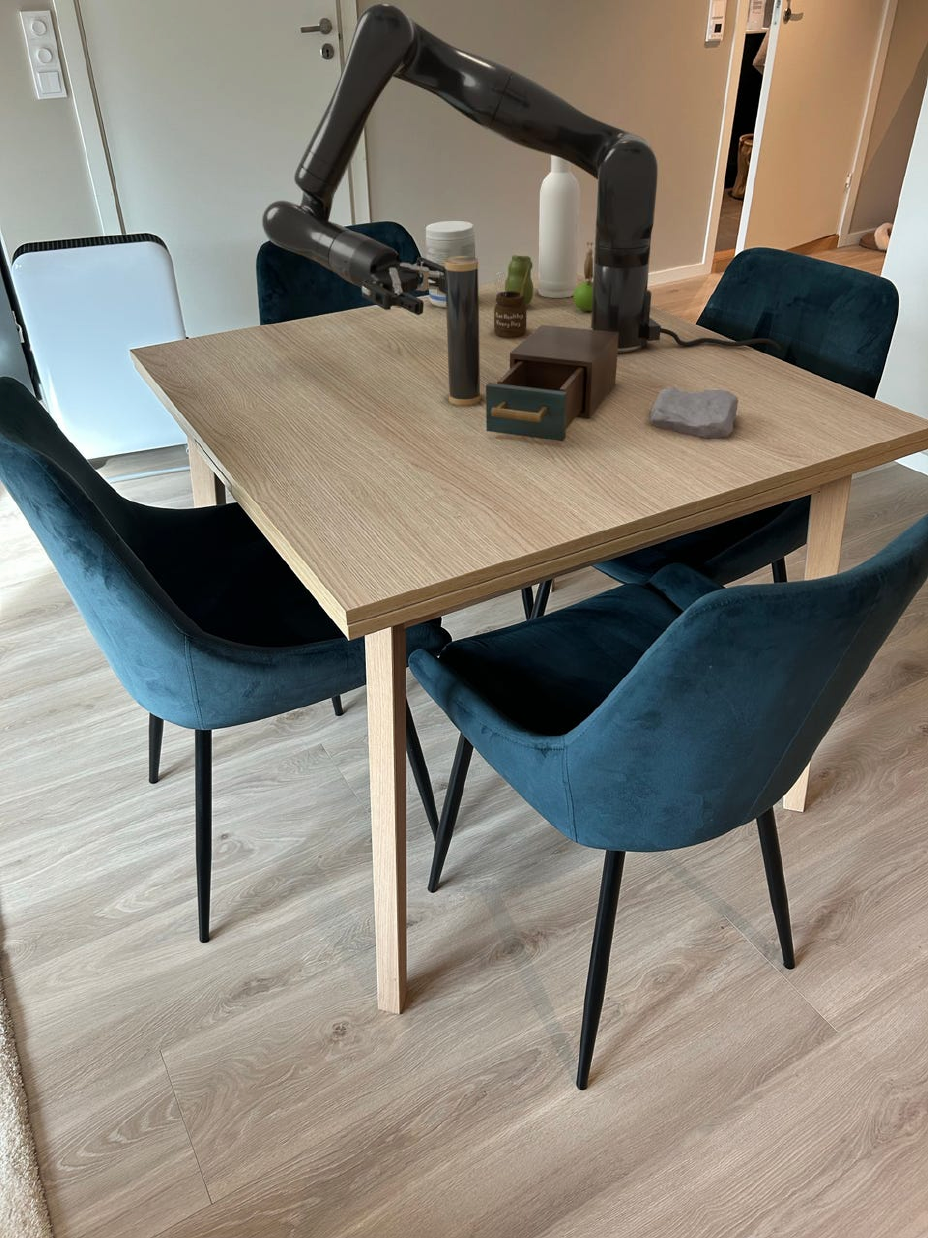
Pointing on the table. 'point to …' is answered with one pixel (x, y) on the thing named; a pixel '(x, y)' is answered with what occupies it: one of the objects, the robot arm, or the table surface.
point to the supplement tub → (448, 248)
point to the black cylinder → (463, 329)
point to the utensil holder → (510, 312)
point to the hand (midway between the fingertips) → (440, 300)
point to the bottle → (558, 231)
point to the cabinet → (575, 357)
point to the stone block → (695, 412)
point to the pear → (520, 277)
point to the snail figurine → (585, 284)
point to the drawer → (536, 399)
